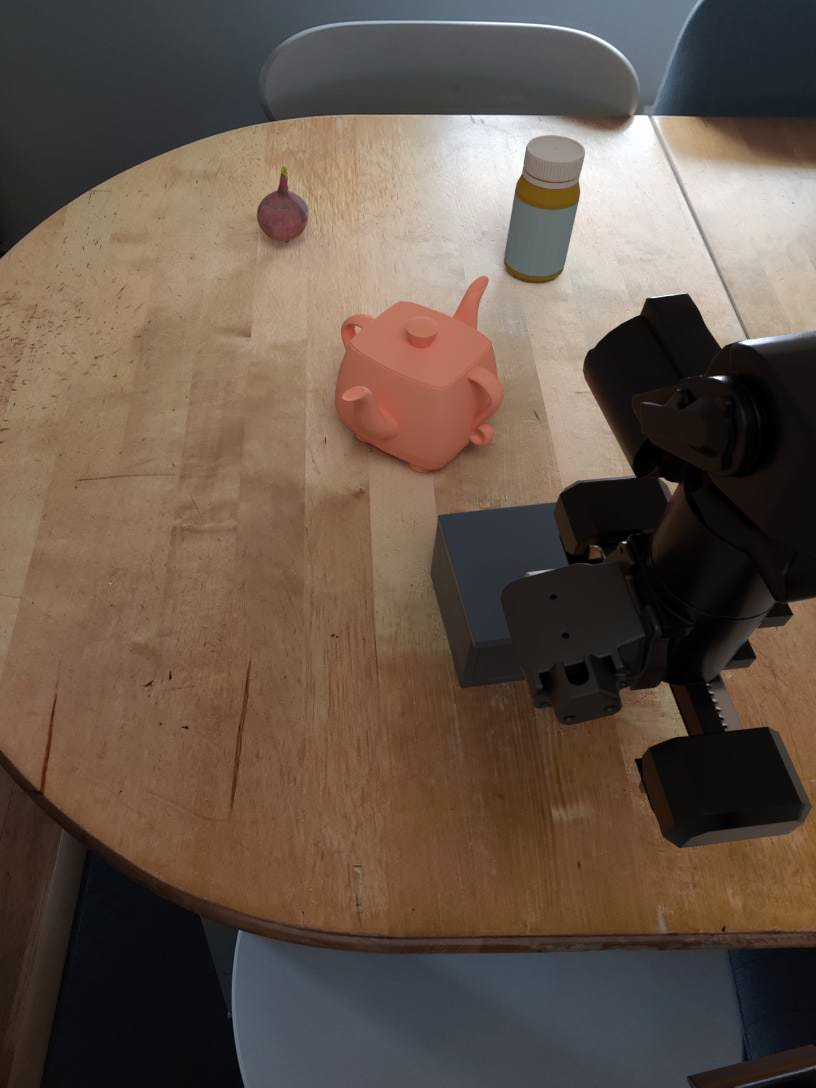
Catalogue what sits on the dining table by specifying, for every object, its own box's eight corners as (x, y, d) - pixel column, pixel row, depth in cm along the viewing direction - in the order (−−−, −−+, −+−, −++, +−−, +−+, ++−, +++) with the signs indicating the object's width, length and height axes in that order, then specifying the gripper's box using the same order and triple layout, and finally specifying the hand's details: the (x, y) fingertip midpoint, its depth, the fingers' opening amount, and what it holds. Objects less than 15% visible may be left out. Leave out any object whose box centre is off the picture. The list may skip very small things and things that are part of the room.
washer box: (634, 665, 67) (658, 615, 63) (460, 688, 66) (471, 639, 61) (587, 555, 75) (605, 503, 70) (430, 573, 73) (437, 521, 69)
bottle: (501, 282, 102) (521, 161, 92) (504, 248, 107) (523, 130, 96) (563, 288, 102) (590, 167, 91) (562, 254, 106) (588, 135, 96)
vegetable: (308, 257, 106) (306, 181, 99) (256, 257, 106) (251, 181, 99) (310, 230, 110) (308, 155, 103) (260, 229, 110) (255, 154, 103)
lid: (662, 624, 62) (682, 584, 59) (473, 648, 61) (482, 608, 57) (605, 502, 70) (619, 460, 66) (437, 521, 69) (442, 479, 65)
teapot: (341, 496, 79) (342, 392, 70) (329, 375, 91) (329, 272, 82) (506, 488, 80) (528, 383, 71) (473, 368, 92) (489, 265, 83)
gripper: (486, 416, 44) (449, 580, 56) (605, 801, 32) (525, 904, 44) (702, 398, 45) (619, 564, 57) (894, 765, 33) (738, 876, 45)
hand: (620, 707), depth 51 cm, fingers open, 9 cm apart
